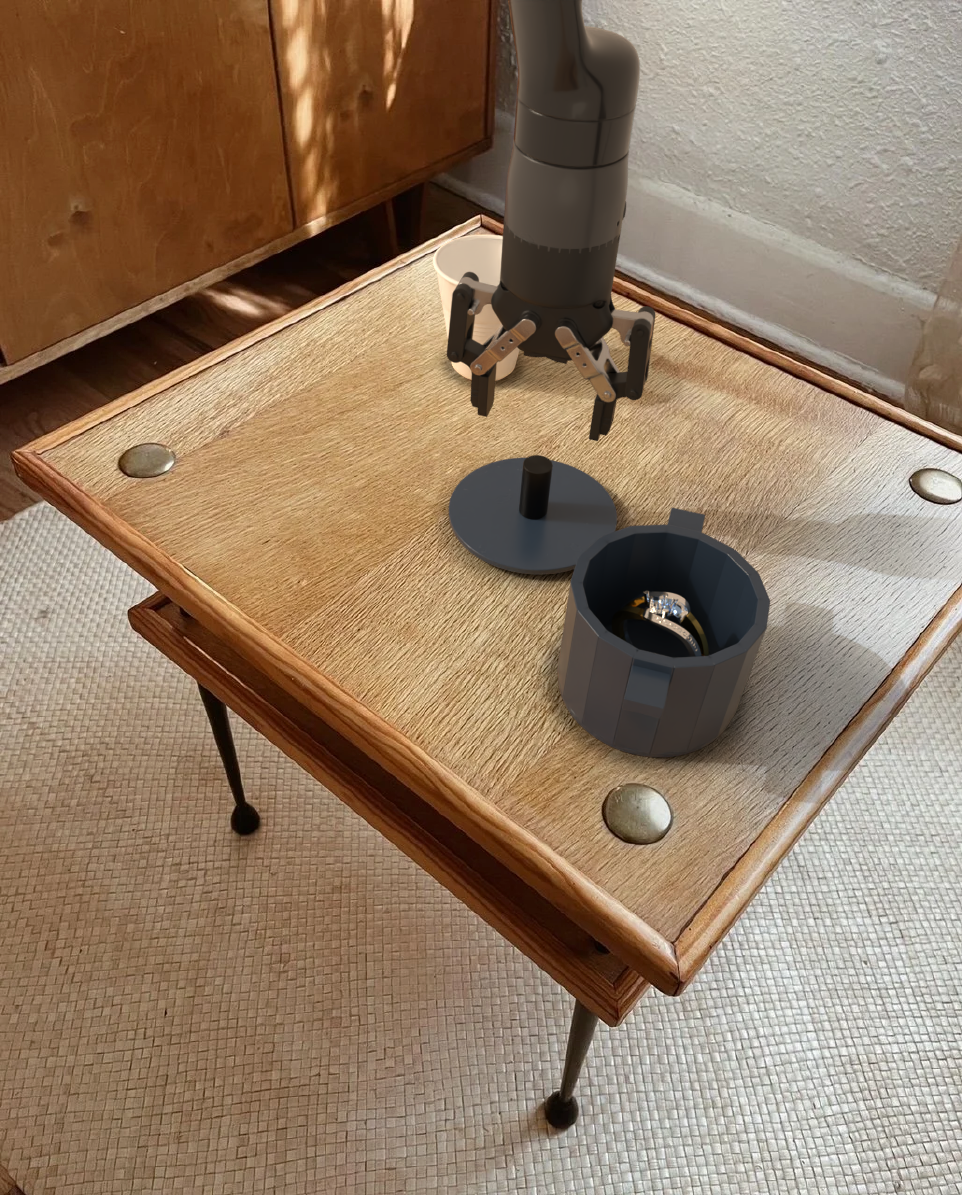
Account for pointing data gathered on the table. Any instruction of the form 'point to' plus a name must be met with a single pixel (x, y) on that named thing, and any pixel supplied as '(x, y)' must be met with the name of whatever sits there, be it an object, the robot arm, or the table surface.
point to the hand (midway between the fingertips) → (540, 422)
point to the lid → (530, 514)
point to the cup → (486, 263)
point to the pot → (660, 638)
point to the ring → (663, 619)
